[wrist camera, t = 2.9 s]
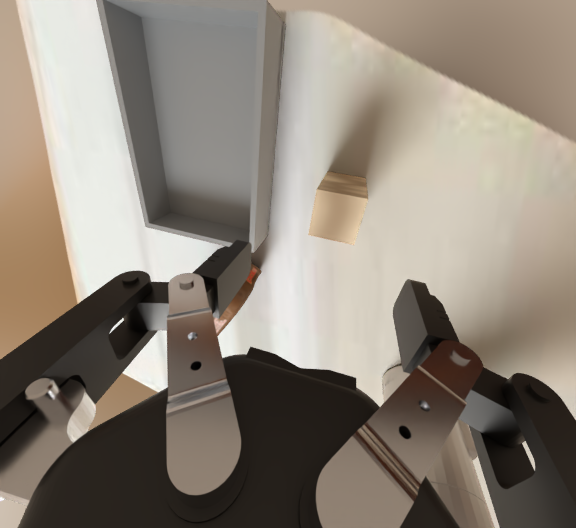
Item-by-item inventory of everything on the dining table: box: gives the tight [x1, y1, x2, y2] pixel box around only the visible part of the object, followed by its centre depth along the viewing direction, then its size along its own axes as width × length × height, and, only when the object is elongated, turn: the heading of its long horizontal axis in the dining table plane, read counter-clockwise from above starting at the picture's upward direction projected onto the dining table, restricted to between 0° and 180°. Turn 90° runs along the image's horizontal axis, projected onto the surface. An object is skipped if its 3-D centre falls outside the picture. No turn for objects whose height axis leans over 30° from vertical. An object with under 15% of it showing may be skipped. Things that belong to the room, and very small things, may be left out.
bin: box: [96, 0, 286, 253], centre depth 25 cm, size 14×20×5 cm
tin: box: [213, 263, 261, 336], centre depth 34 cm, size 15×3×8 cm, turn 144°
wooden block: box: [308, 171, 368, 245], centre depth 23 cm, size 4×4×8 cm
